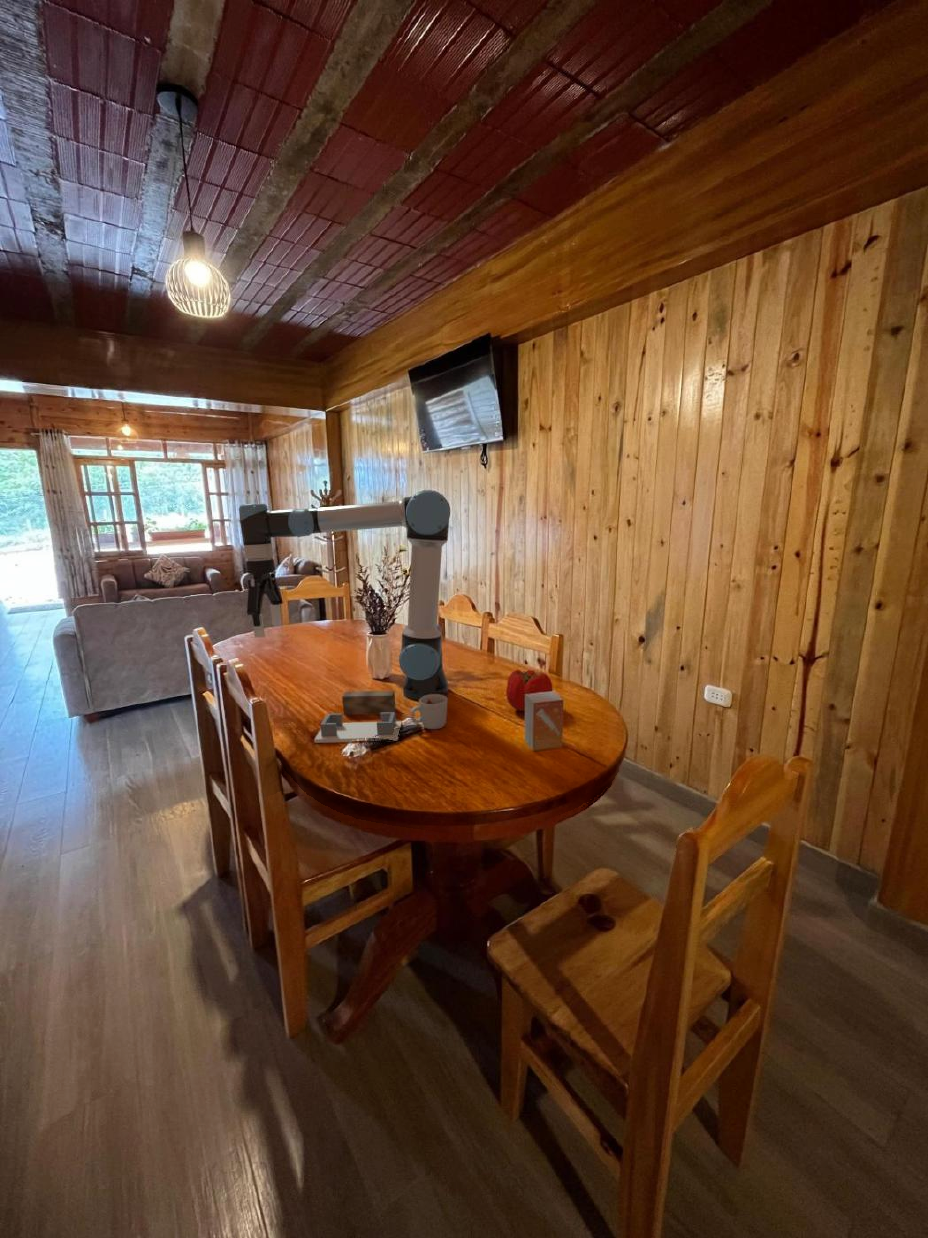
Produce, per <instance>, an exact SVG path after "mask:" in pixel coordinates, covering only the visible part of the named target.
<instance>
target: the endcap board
mask: <svg viewBox="0 0 928 1238" xmlns="http://www.w3.org/2000/svg"><path fill="white" fill-rule="evenodd" d="M379 715H380V721H360V722H357V721H356V722H343V713H327V714H326V715H325V717H324V718H323V720H322V722H321V723H320V725H319V726H320V730H319V732H318V733H317V735H315V738H314V743H315V744H319V743H320V744H321V743H323V744H324V743H325V744H326V743H329V744H330V743H352V742H351V741H352V740H356V739H365V738H366V739H367V738H369V737H370V738H379V739H380V738H381V739H382V738H383V739H389V740H393V741H392V742H395V741H396V742H397V741H398V740H399V737H398V734H399V730H400V729H399V730H398V729H394V728H395V727H396V726H401V724H402V725H403V721H401V720H400V721H399V720H398V721H397V719H396V712H395V711H394V712H381V713H380V714H379ZM400 731H401V730H400ZM375 735H378V736H376V737H375ZM383 735H384V736H383ZM399 735H400V734H399ZM373 736H374V737H373Z"/></svg>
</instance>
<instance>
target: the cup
mask: <svg viewBox="0 0 928 1238" xmlns="http://www.w3.org/2000/svg"><path fill="white" fill-rule="evenodd" d="M417 711H419V717H418V718H415V713H416V712H417ZM447 714H448V697H447V696H446V695H444V696H443V695H439V694H430V695H425V696H423V697H421V698H420V699H419V700H418V705H416V706H414V707H412V708H411V709H410V719H411V721H412V722H413V723H415V724H418V723H422V725H423V727H424V728H426V729H428V730H438V729H442V728H443V727H444V726H445V725H446V722H447Z"/></svg>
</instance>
